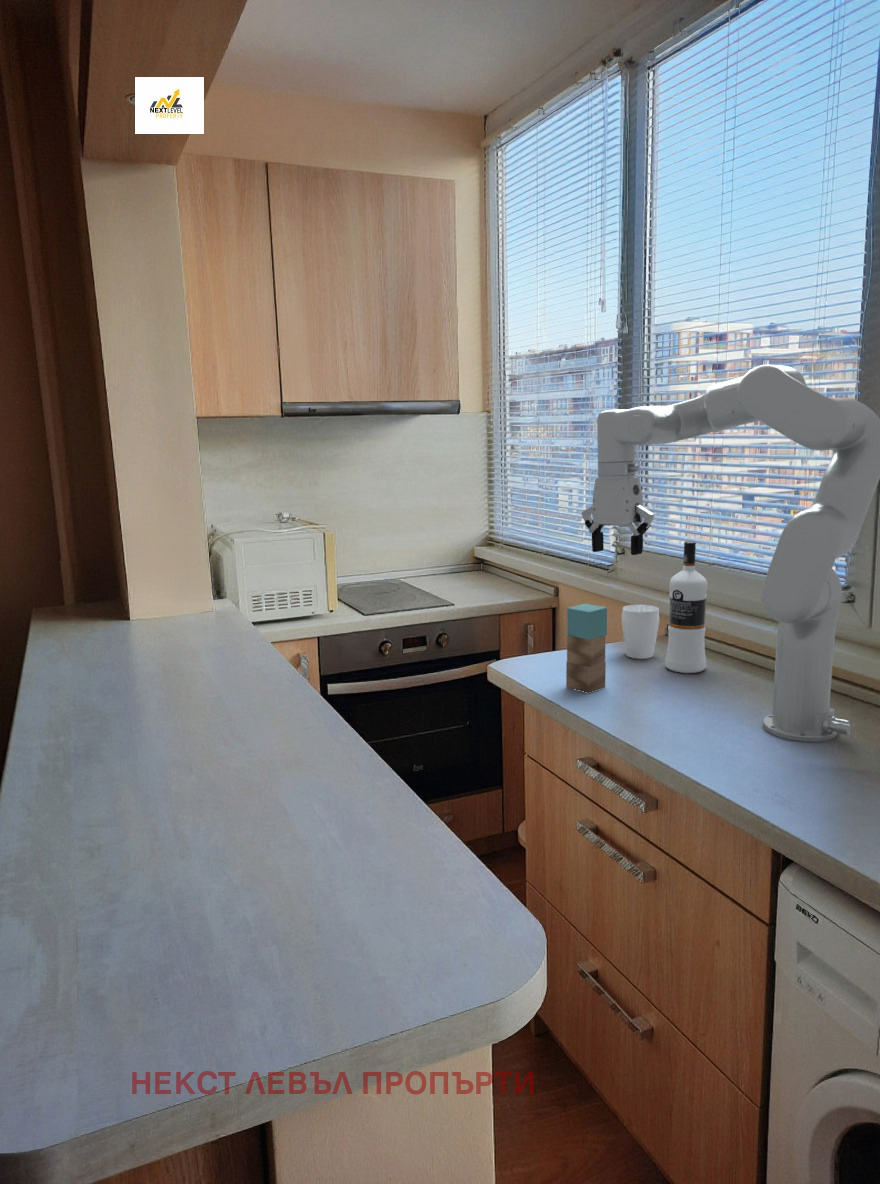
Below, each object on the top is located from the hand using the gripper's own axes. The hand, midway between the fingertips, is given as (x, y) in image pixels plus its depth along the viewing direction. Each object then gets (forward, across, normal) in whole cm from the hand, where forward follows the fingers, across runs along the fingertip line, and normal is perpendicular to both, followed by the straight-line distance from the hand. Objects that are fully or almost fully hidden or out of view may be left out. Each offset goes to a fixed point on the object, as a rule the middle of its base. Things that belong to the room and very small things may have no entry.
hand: (616, 552), depth 171 cm
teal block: (+18, +6, +3) cm, 19 cm away
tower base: (+30, +6, +4) cm, 31 cm away
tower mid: (+24, +6, +4) cm, 25 cm away
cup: (+30, +12, -26) cm, 41 cm away
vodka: (+30, -2, -23) cm, 38 cm away
